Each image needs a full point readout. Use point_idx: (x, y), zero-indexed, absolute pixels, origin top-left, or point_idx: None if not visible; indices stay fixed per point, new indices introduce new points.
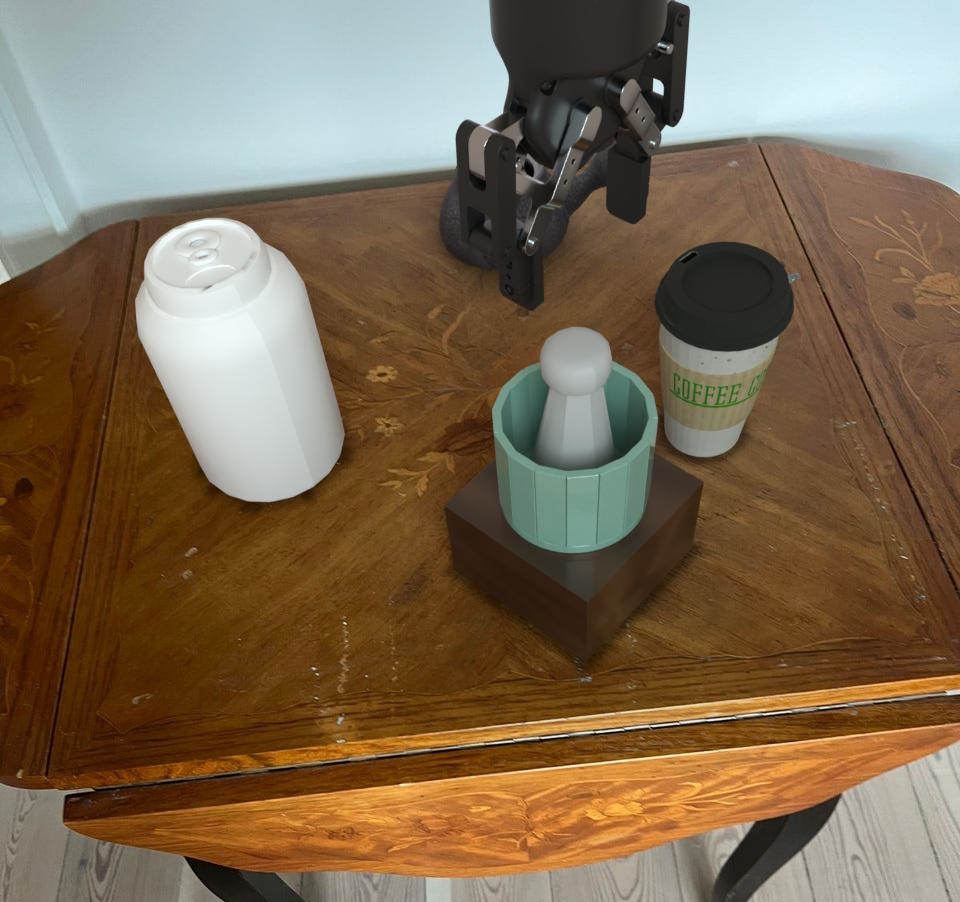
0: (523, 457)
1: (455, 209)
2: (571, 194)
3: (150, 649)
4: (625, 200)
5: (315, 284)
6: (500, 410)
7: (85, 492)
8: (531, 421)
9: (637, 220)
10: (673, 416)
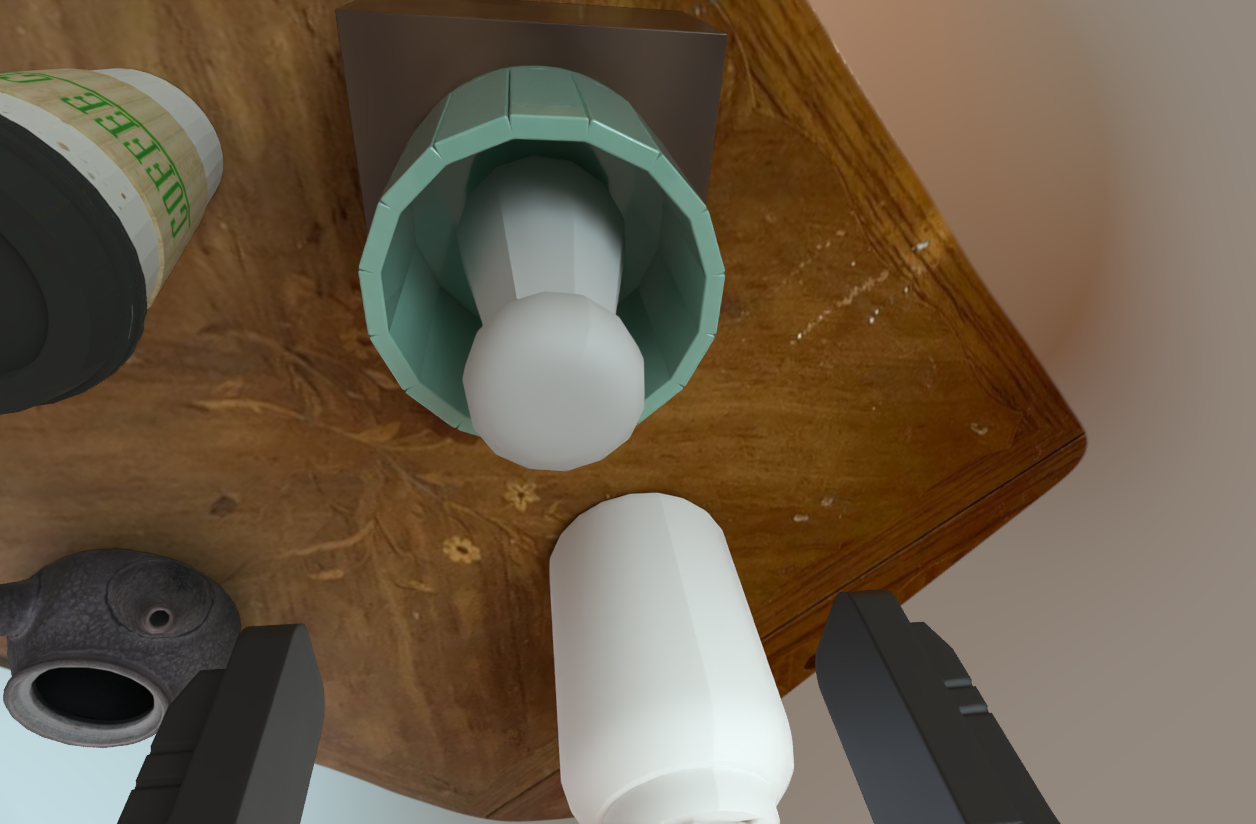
0: (705, 310)
1: None
2: (5, 610)
3: (924, 463)
4: (289, 730)
5: (412, 679)
6: None
7: (791, 627)
8: None
9: (292, 633)
10: (205, 191)
